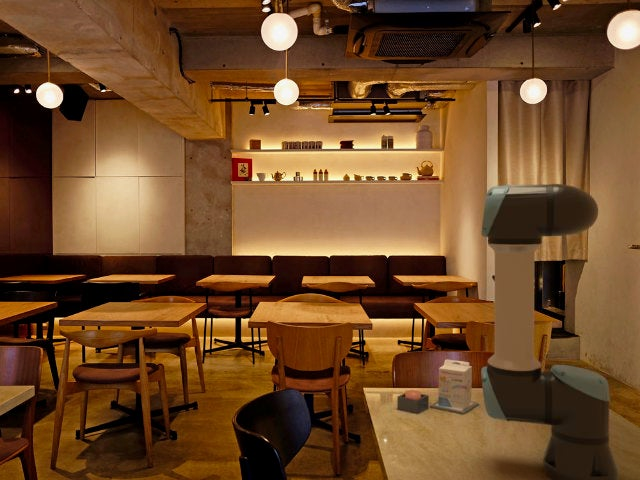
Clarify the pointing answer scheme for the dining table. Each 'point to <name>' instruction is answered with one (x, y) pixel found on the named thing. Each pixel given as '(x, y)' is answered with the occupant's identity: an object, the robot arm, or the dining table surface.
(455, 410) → the board
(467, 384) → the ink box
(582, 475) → the robot arm
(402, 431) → the dining table surface
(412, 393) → the button
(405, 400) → the button housing
